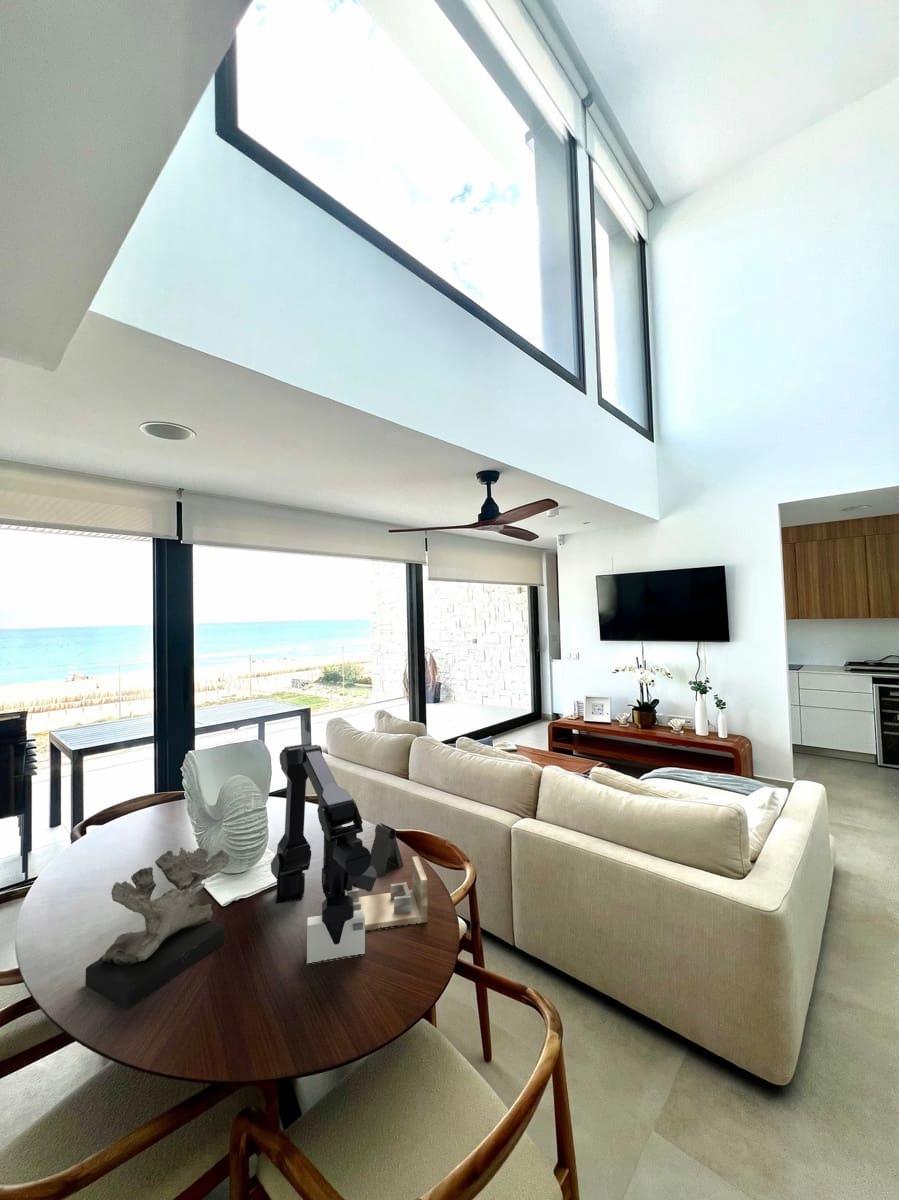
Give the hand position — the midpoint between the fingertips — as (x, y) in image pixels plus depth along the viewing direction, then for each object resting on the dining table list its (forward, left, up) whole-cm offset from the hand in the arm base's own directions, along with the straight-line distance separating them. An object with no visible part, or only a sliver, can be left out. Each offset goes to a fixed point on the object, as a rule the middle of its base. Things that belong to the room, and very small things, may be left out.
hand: (336, 930), depth 108 cm
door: (0, 0, -5) cm, 5 cm away
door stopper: (+15, +34, -5) cm, 38 cm away
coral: (-33, +5, -5) cm, 34 cm away
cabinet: (+10, +12, -5) cm, 17 cm away
